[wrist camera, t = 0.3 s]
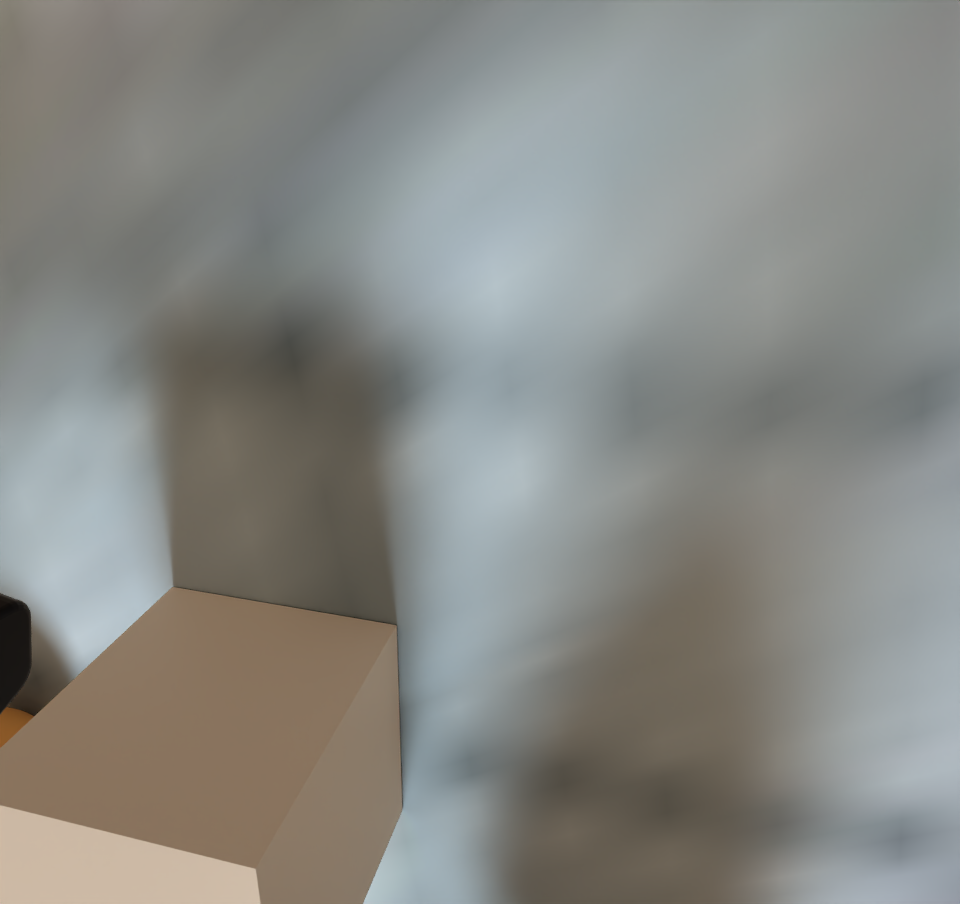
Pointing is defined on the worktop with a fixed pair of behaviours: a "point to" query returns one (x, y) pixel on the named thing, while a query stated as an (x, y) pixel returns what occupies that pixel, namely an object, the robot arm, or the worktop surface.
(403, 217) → the worktop surface
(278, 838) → the beige cardboard box
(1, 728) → the ball
